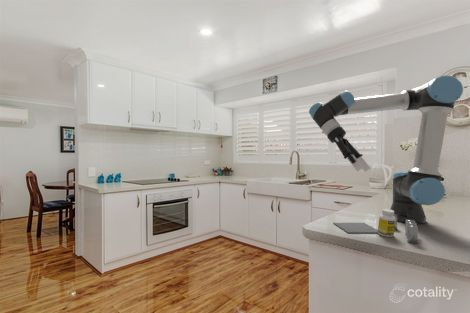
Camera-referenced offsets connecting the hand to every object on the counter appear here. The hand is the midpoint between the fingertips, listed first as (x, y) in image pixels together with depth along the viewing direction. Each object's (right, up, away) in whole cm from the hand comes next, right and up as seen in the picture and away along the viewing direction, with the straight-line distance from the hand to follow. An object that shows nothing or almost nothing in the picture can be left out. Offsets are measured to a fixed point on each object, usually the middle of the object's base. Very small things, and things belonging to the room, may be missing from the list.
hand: (364, 169), depth 104 cm
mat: (-2, -25, +3) cm, 25 cm away
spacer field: (+12, -25, -6) cm, 29 cm away
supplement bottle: (+5, -25, -6) cm, 26 cm away
